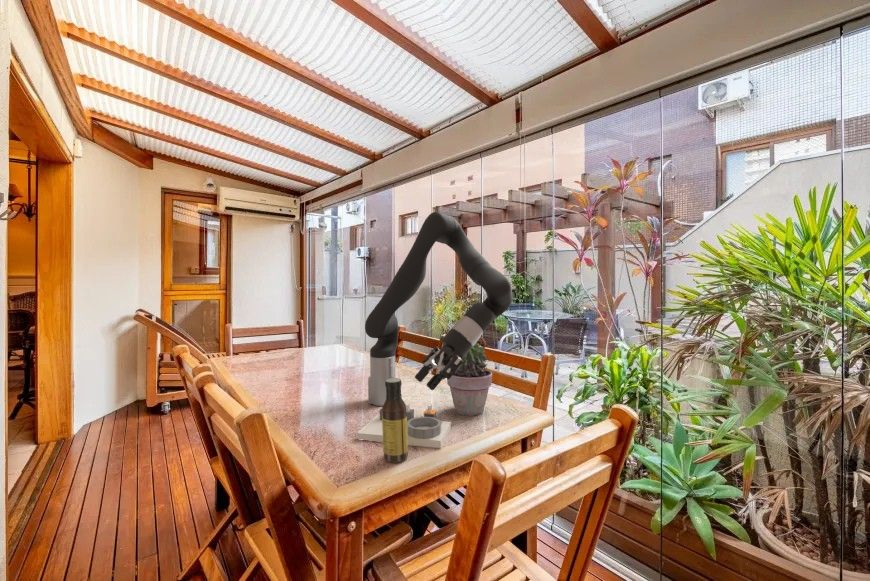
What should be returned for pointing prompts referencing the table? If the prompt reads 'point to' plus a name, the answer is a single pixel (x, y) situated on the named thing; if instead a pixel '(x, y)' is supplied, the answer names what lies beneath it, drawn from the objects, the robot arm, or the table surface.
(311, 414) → the table surface
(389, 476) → the table surface
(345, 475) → the table surface
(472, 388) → the potted plant
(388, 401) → the sauce bottle
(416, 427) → the breaker board
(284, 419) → the table surface
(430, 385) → the robot arm
